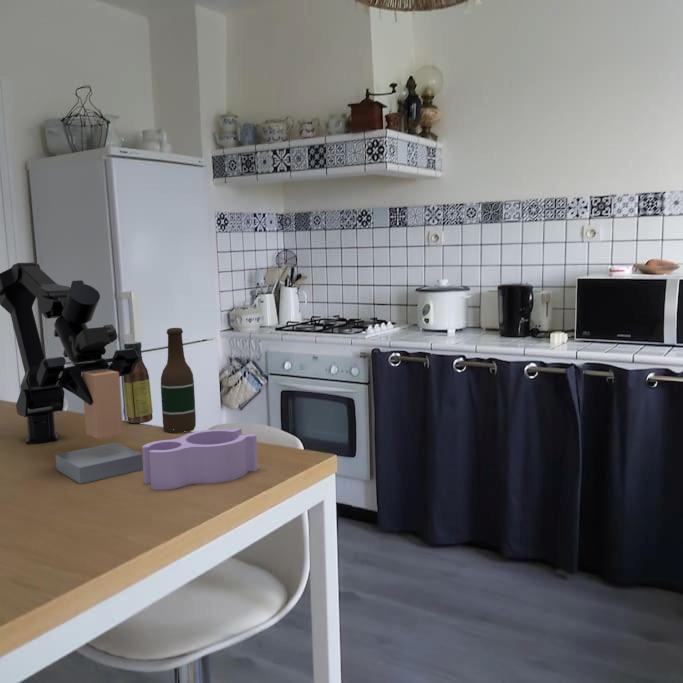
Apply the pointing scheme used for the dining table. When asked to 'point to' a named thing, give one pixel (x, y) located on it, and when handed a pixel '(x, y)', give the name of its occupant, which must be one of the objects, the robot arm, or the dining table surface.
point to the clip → (199, 458)
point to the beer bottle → (177, 388)
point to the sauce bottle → (137, 390)
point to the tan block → (103, 404)
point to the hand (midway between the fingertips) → (105, 401)
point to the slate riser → (98, 462)
